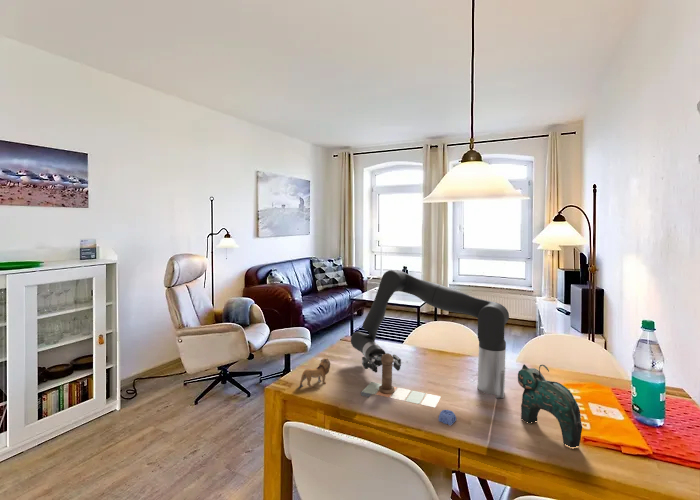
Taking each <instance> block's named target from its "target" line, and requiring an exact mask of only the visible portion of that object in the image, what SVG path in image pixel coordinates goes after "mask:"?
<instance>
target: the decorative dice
mask: <svg viewBox="0 0 700 500" xmlns="http://www.w3.org/2000/svg"><path fill="white" fill-rule="evenodd" d="M456 421H457V416H456V413H454V411H452V410H449V409H442V410H441V411H440V412H439V415H438V422H440V423H442V424H445V425H448V426H452V425H453V424H454V423H455V422H456Z"/></svg>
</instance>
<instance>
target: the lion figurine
mask: <svg viewBox="0 0 700 500" xmlns="http://www.w3.org/2000/svg"><path fill="white" fill-rule="evenodd" d="M330 368H331V361H330V359H329V358H327V357H324V358H322V359H320V363H319V365H318V366H317V367H315V368H306V369H305V370H304V371H303V372H302V374H301V379H300V381H299V386H298V389H302V387H303V386H304V384H303V382H304V381H306V380H307V386H308V387H309V389H312V388H314V386H313V385H311V381H312V378H313V379H314V378H315V379H317V382H318V383H321V382H322V384H323V385H326V383H327V382H326V375H328V373H329V372H330Z"/></svg>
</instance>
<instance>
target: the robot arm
mask: <svg viewBox="0 0 700 500" xmlns="http://www.w3.org/2000/svg"><path fill="white" fill-rule="evenodd" d="M396 292H400V293H401V292H402V293H405V294H409V295H412V296H414V297H416V298H418V299H420V300H421V301H423V302H424V303H425V304H427V305H429V306H431V307H434V308H436V309H439V310H441V311H445V312H451V313H457V314H463V315H469V316H472V317H474V318H477V339H478V363H477V365H478V366H477V370H478V371H477V389H478V391H480V392H481V393H484V394H487V395H493V396H495V399H499V398H500V399H504V396H505V385H506V352H507V351H506V350H507V349H506V347H507V343H506V340H505V326H506V324H507V323H508V321H509V320H510V313H509V310H508V309H507V308H506V306H504V305H503V304H502V303H500V302H499V303H498V302H494V301H490V300H486V299H482V298H477V297H475V296H472V295H469V294H467V293H464V292H461V291H459V290H456V289H453V288H451V287H449V286H445V285H443V284H440V283H435V282H432V281H429V280H424V279H421V278H417V277H414V276H413V275H411V274H408V273H407V272H404V271H402V270H399V269H390V270H387V271H385V272H384V273H383V275H382V276H381V279H380V282H379V286H378V289H377V291H376V294H375V297H374V300H373V301H372V305H371V307H370V309H369V311H368V312H367V315H366V317H365V318H364V320H363V323H362V329H364V330H365V332H366V333H364V332H361V331H355V332H353V333H352V334H351V336H350V344H351V347H353V348H354V349H355V350H357V351H358V352H361V353H362V355H363V357H361V365H362V366H363V368H364V370H371V371H372V372H374V373H378V367H382V361H381V358H382V356H383V355H384V354H386V353H387V352H386V351H385V350H384V349H383V348H382V347H381V346H380V345H379V344H378V343H376V336H377V333H378V330H379V328H380V326H381V325H382V322H383V320H384V318H385V315H386V310H387V305H388V304H389V301H390V299H391V297H392V296H393V295H394V293H396ZM367 333H368V334H367ZM392 357H393V363H392V368H394V369H395V370H396V371H400V370H401V366H402V359H401V358H400V357H399V356H397V354H392Z"/></svg>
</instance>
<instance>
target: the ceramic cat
mask: <svg viewBox="0 0 700 500" xmlns="http://www.w3.org/2000/svg"><path fill="white" fill-rule="evenodd" d="M541 367H544V368H545V370H546V371H547V372H550V370H549V368H548V367H547V366H546V365H545V364H540V365H539V368H538V369H537V368H533V367H530V368H528V366H527V365H526V364H523V365H522V368H521V369H520V370H519V371H518V373H517V382H518V384H519V386H520V387H521V388H523V393H522V397H521V404H520V408H521V409H520V410H521V414H520V420H521V419H523V420H524V421H526V422H528V423H531V422H535V421H537V422H538V414H539V412H540V411H541V410H542V411H546V412H548V413H550V414H551V415H552V416H554V418H555V419H556V420H557V422H558V424H559V427H560V430H561V436H562V442H563V443H564V444H566V445H568V446H570V447H576V446H579V447H580V445H581V444H580V443H581V438H582V432H583V424H582V419H581V418H582V417H581V411H580V407H579V404H578V403H577V400H576V399H575V397H574V395H573V393H572V392H571V391H570V389H568V388H567V387H566V386H565V385H563V384H561V383H560V382H559V381H551V380H548V379H547V380H546V377H544V375H543V374H542V373H541ZM523 420H522V421H523ZM524 421H523V422H524ZM526 422H525V423H526ZM528 423H527V424H528ZM563 443H562V444H563Z"/></svg>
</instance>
